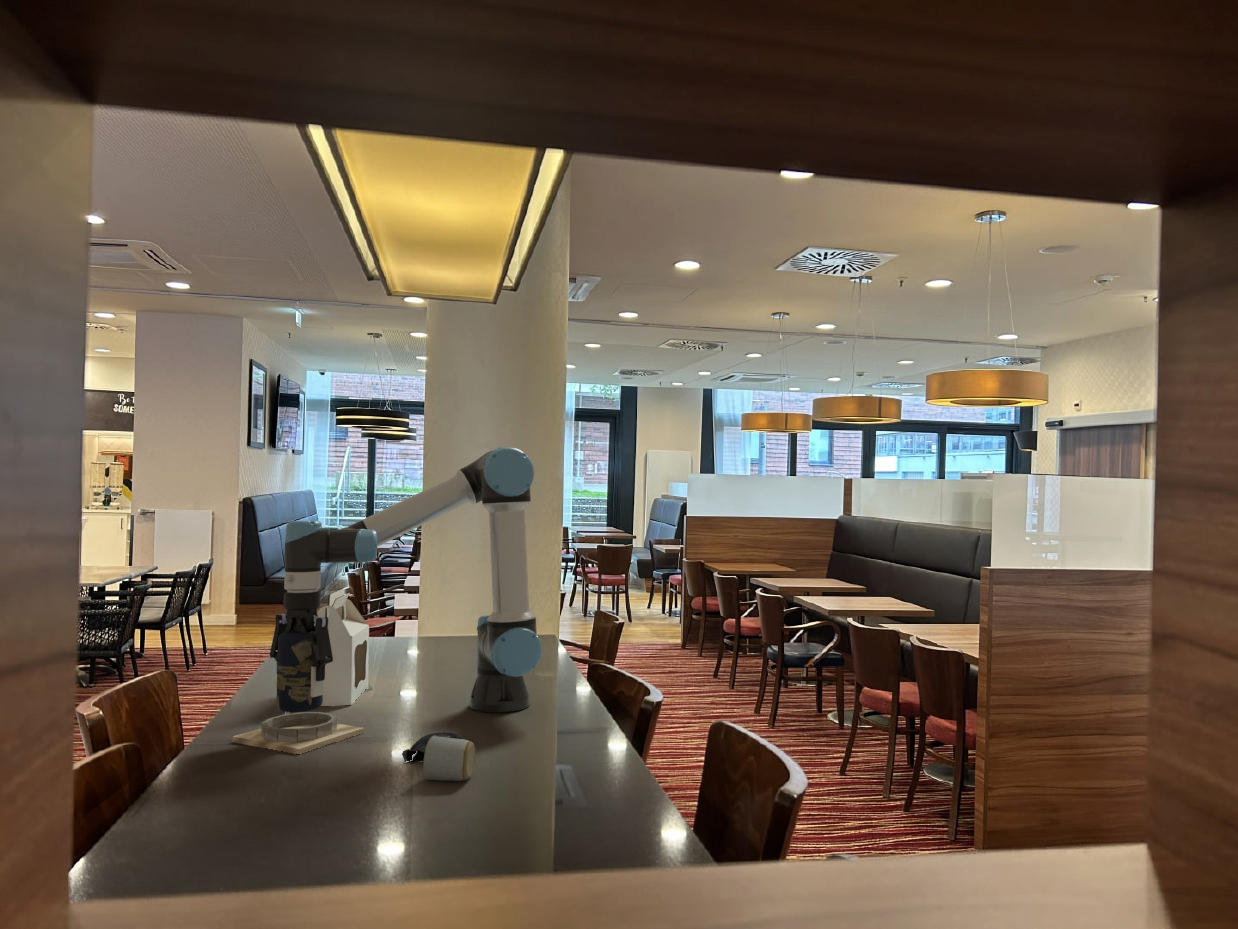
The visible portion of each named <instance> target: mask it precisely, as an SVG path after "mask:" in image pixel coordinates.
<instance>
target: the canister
mask: <svg viewBox="0 0 1238 929" xmlns="http://www.w3.org/2000/svg"><path fill="white" fill-rule="evenodd" d="M311 632H312V631H311ZM311 644H314V645H318V644H317V638H316V633H310V634H302V633H295V632H290V633H286V632H283V633H281V634H280V635H279V638H278V669H277V668H276V708H277V710H279V711H280V712H286V713H299V712H312V711H314V710H316V709H319V708H321V707H320V706H321V705H322V702H323V695H320V696H316V697H311V666H312V665H313V664H314V662H313V659H312V656H311ZM319 660H320V658H319Z"/></svg>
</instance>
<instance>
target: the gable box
mask: <svg viewBox="0 0 1238 929" xmlns="http://www.w3.org/2000/svg"><path fill="white" fill-rule="evenodd" d="M350 593H351V592H347V593H345V588H340V589H338V590H335V591H333V592H330V593H329V594H328V596H327V605H324V606H322V607H321V608H319V610H317V615H318V617H328V632H329V638H330V644H331V650H332V656H333V661H332V662H330V663H327V664H326V665H325V679H324V680H323V702H322V705H321V706H331V707H336V706H335V705H351V706H353V704H354V703H355V702H356V701H357V700H358V699H359V698H358V697H360V696H362V694H363V693H364V692H366V690H367V689H368V688H369V658H370V657H369V654H370V653H369V652H370V651H369V648H370V646H369V645H370V644H369V643H370V641H369V640H370V624H368V622H367V621H366V620H365V618H364V617H363V616H362V614H361V613H360V611H359V610H358V608H357V607H356V606H355V604H354V603H353V601H352V600H351V599H349V598H348V597H349V596H350ZM326 658H327V657H326ZM355 687H356V689H355ZM367 687H368V688H367ZM366 688H367V689H366ZM365 689H366V690H365ZM361 693H362V694H361ZM356 699H357V700H356ZM355 700H356V701H355ZM333 705H334V706H333Z"/></svg>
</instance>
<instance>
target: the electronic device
mask: <svg viewBox="0 0 1238 929" xmlns="http://www.w3.org/2000/svg"><path fill="white" fill-rule="evenodd" d="M432 736H438V737H446V738H454V739H464V738H463V737H462V736H461V735H460V734H458V733H455V732H451V731H450V732H444V731H443V732H435V733H434V732H433V733H429V734H426V735H424V736H422V737H421V738H419V739H418V740H417V741H415V742H414V743H413V745H411V747H410V748H407V749H405V750H402V753H401V756H402V758H403V761H404V763H405V762H406V761H410V760H412V755H413V754H415V753H416V751H419V750H420V752H421V753H424V754H425V750H426V746H427V743H428V741H429V739H430V738H431V737H432Z"/></svg>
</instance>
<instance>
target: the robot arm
mask: <svg viewBox="0 0 1238 929" xmlns="http://www.w3.org/2000/svg"><path fill="white" fill-rule="evenodd" d="M534 478H535V468H534V465H533V462H532V460H531V458H530V457H529V455H527V454H526V453H525V452H524V451H522V450H521V449H520V448H519V449H518V448H516V447H510V446H504V447H497V448H495V449H494V450H490V451H488V452H486V453H484V454H483V455H481V456H480V457H478V458H476V460H474V461H473V462H471V463H469V464H467V465H466V466H463V467H462V468H460V469H458V470H457V471H456V474H455V475H454V476H452V477H450V478H447V479H446V480H443V481H442V482H440V483H437V484H435V485H433V486H431V487H429V488H428V489H425V490H422V491H420V492H417V493H416V494H414V495H412V496H409V497H408V498H405V499H403V500H401V501H399V502H397V503H395V504H392V505H390V506H389V507H387V508H384V509H383V510H380V511H379V512H376V513H374V514H372V515H370V516H369V515H368V517H365V518H363V519H361V520H359V521H357V522H355V523H352V524H351V525H348V526H345V527H342V528H340V529H326V528H324V527H323V526H322V521H320V520H291V521H289V522H288V523H287V524H286V527H285V539H284V583H283V584H284V585H283V587H284V588H283V589H284V590H286V592H284V593H283V609H284V610H286V613H278V614H276V615H275V627H274V632H273V636H272V642H271V647H270V651H269V658H271V659H274V660H275V661H276V670H277V669H278V638H279V635H280V634H281V633H283V632H286V633H290V632H295V633H302V634H310V633H316V638H317V644H318V645H314V644H311V656H312V659H313V662H314V664H313V665H312V666H311V697H316V696H320V695H323V680H324V679H325V665H326V664H327V663H330V662H332V661H333V656H332V650H331V644H330V638H329V632H328V617H318V615H317V612H318V609H320V607H321V592H320V591H319V589H321V585H322V582H321V581H322V578H321V577H322V575H321V574H322V573H321V572H322V567H321V566H322V564H331V563H333V564H336V563H337V564H350V563H351V564H352V563H353V564H354V563H359V564H363V563H373V562H375V561H376V559H377V556H378V547H380V546H382V545H384V544H387V543H388V542H391V541H392V540H394V539H397V538H398V537H400V536H403V535H404V534H406V533H409V532H411V531H413V530H414V529H418V528H420V527H421V526H424V525H425V524H427V523H430V522H431V521H434V520H436V519H438V518H440V517H442V516H444V515H446V514H448V513H450V512H453V511H454V510H457V509H459V508H461V507H463V506H466V505H467V504H472V505H476V504H478V503H480V502H481V503H482V506H483V507H484V508H485V509H486V510H487V511H488V517H489V518H488V519H489V522H488V523H489V539H490V540H489V542H490V544H489V545H490V566H491V591H492V613H491V614H489V615H488V614H487V615H481V616H479V618H478V620H477V626H476V631H477V644H476V645H477V647H476V649H477V652H476V653H477V654H476V655H477V658H476V660H477V662H476V667H477V669H476V670H477V671H476V674H477V675H476V678H475V682H474V685H473V688H472V689H471V690H472V691H471V695H470V697H469V708H471V709H472V710H475V711H478V712H484V713H508V712H515V711H517V712H518V711H520V710H525V709H526V708H528V707H530V705H531V695H530V692H529V688H528V685H527V682H526V679H525V676H526V675H527V674H529V673H531V672H532V671H533V670H534V669H535V668H536V667H537V666H538V664H539V662H540V661H541V658H542V655H543V654H542V653H543V648H542V647H543V646H542V643H541V642H542V641H541V639H540V637H539V635H538V634H537V631H538V630H537V615H536V614H535V613H533V611H532V610H531V608H530V600H529V578H528V551H527V532H526V531H527V530H526V508H528V507H529V505H530V504H532V503H531V486H532V484H533V481H534ZM311 631H312V632H311ZM326 657H327V658H326ZM319 658H320V660H319Z"/></svg>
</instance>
